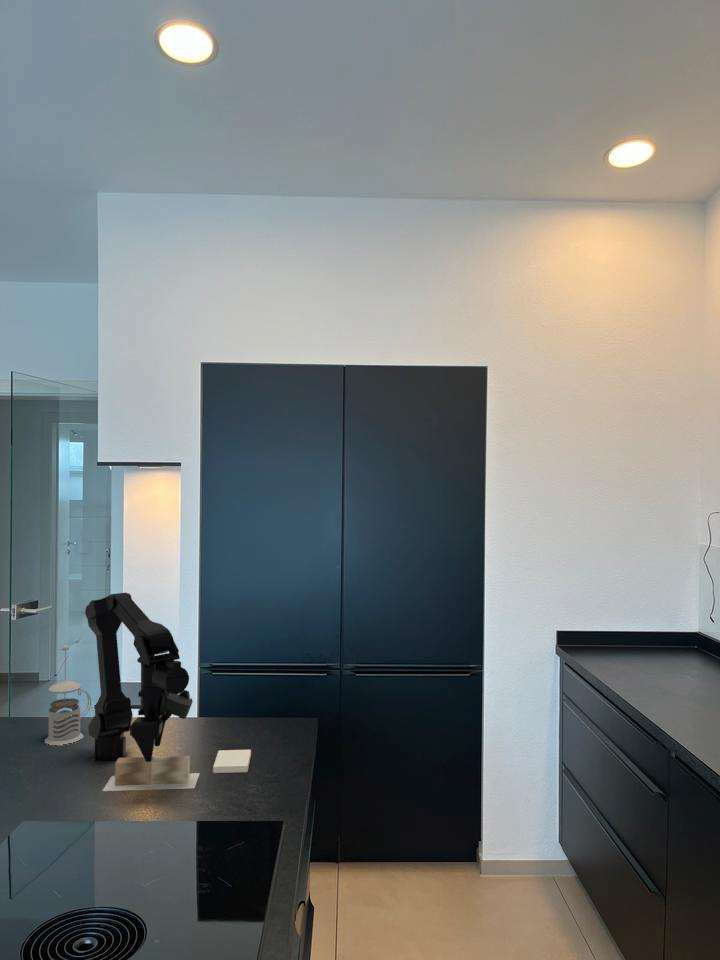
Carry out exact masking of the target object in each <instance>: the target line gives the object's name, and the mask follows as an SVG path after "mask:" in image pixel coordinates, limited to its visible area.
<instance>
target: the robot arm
mask: <svg viewBox="0 0 720 960" xmlns="http://www.w3.org/2000/svg"><path fill="white" fill-rule="evenodd" d="M84 612H85V617H86V619H87V624H88V627H89V628H90V630H91V631H92V632H93V633H94V635H95V639H96V649H97V659H98V660H97V663H98V675H99V687H100V696H99V698H98V700H97V701H96V704H95V706H94V716H93V718H92V719H91V721H90V723H89V724H88V726H87V729H88V735H89V736H90V737H92V738H93V739H94V758H93V759H92V763H93V762H96V763H97V762H116V761H117V760H118V758H124V756H125V755H126V753H127V750H126V749H127V744H126V743H127V738H126V736H124V735H125V734H124V733H125V732H126V733H127V732H129V736H131V738H133V740H134V741H135V743H136V744H137V746H138V749H139V750H140V752H141V754H142V757H144V759H145V761H146V762H151V760H152V757H153V754H154V750H155V749H154V748H155V747H160V746H161V743H162V739H163V734H164V730H165V725H166V721H168V720H169V718H170V717H171V716H172V715H173V716H176V717H178V718H180V719H183V720H184V719H185V720H186V719H187V717H188V715H189V713H190V709H191V708H192V705H193V702H194V701H193V698H192V697H191V696H190V691H189V690H186V688H187V687H188V684H189V681H190V675H189V673H188V671H187V669H186V668H184V667H182V661H180V658H181V657H180V654H179V652H180V651H179V648H178V646H177V643H176V642H175V639H174V637H173V635H172V633H171V631H170V630H169V629H168V628H167V627H166V626H165V625H163V624H162V623H158V622H155V621H152V620H151V619H150V618H149V617H148V616H147V615H146V614H145V612H144V611H143V610H142V609H141V608H140V607H139V606H138V605H137V604H136V602H135V600H133V598H132V595H131V593H128V592H119V593H110V595H107V596H106V597H103V598H100V599H92V600H90V601H89V604H87V605H86V607H85V611H84ZM122 623H123V625H124V626H125V628H127V629H128V631H129V632H130V633H131V634H132V636H133V638H134V639H133V646H134V648H135V650H136V652H137V653H138V655H139V657H138V658H137V659H136V661H137V663H139V664H140V690H139V691H138V693H137V695H138V696H137V697H138V698H140V708H139V709H138V711H137V713H138V716H139V717H138V716H137V717H136V718H135V720H134V721H132V720H133V716H134V714H133V711H132V704H131V703H132V701H131V698H130V697H127V696H126V694H124V693H123V690H122V682H121V681H122V680H121V671H120V668H121V667H120V660H119V659H120V657H119V646H118V635H117V634H118V633H117V632H118V630H119V628H120V626H121V625H122Z"/></svg>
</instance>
